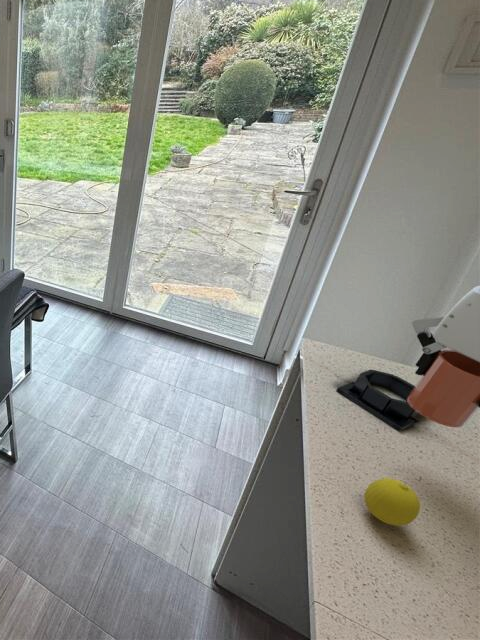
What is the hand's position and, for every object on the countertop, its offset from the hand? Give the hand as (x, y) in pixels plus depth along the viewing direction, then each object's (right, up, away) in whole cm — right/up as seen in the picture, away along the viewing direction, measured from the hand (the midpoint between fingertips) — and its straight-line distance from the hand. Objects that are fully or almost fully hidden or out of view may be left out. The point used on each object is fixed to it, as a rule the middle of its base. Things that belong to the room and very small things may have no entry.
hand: (452, 387), depth 65 cm
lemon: (-14, -20, -2) cm, 24 cm away
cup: (0, -5, +2) cm, 5 cm away
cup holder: (+9, -9, +19) cm, 23 cm away
